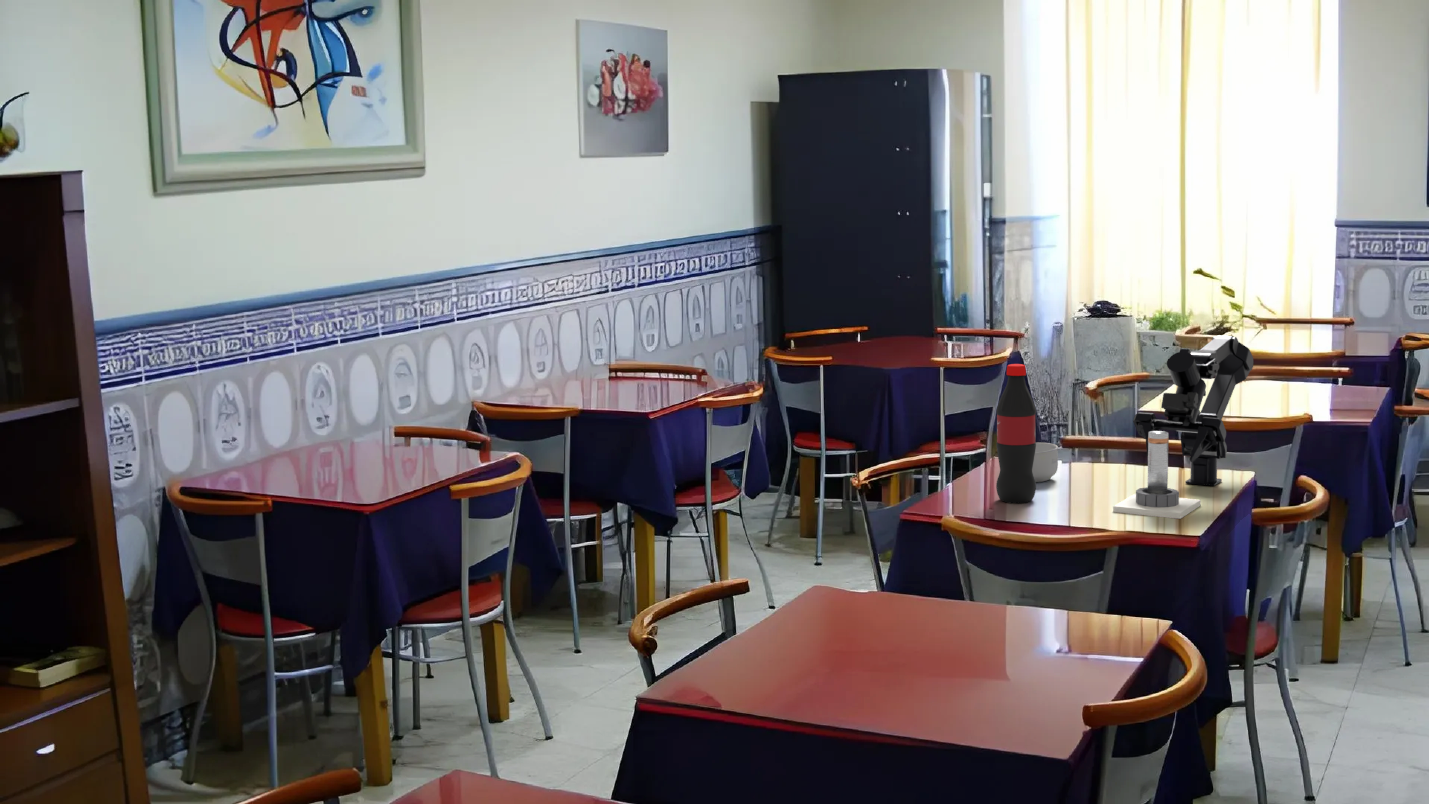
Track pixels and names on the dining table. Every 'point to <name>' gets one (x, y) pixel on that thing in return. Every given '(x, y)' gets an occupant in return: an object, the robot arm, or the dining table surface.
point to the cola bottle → (1016, 439)
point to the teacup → (1045, 461)
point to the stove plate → (1157, 511)
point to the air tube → (1158, 462)
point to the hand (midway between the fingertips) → (1169, 459)
